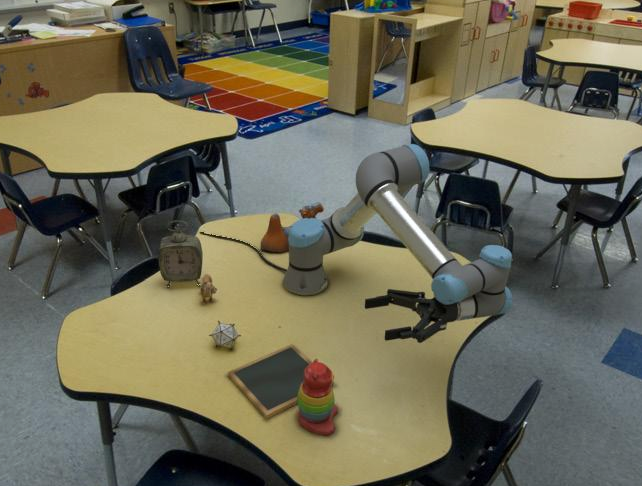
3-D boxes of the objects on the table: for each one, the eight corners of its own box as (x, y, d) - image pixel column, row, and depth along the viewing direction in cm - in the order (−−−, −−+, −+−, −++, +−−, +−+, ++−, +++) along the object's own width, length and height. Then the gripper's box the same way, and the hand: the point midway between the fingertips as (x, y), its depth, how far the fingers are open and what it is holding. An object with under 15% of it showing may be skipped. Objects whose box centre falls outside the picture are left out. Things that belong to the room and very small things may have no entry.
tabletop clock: (162, 291, 203) (153, 227, 190) (164, 277, 211) (156, 214, 198) (204, 289, 204) (198, 225, 191) (205, 275, 211) (199, 213, 198)
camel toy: (260, 254, 223) (258, 213, 214) (261, 237, 235) (260, 198, 226) (325, 254, 223) (327, 213, 214) (323, 237, 234) (324, 197, 225)
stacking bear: (333, 437, 146) (336, 383, 136) (293, 431, 148) (293, 378, 138) (338, 406, 155) (341, 354, 145) (301, 401, 157) (301, 349, 147)
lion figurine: (219, 307, 194) (217, 284, 190) (203, 310, 193) (201, 287, 188) (212, 284, 206) (210, 262, 202) (197, 286, 205) (195, 264, 201)
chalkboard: (228, 375, 166) (228, 371, 165) (291, 347, 176) (291, 343, 175) (266, 419, 151) (266, 414, 150) (333, 385, 161) (333, 381, 161)
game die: (232, 352, 180) (250, 329, 177) (221, 361, 172) (240, 337, 169) (210, 333, 181) (228, 310, 178) (199, 341, 173) (217, 317, 170)
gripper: (474, 348, 143) (393, 362, 139) (428, 292, 163) (356, 303, 160) (479, 324, 139) (396, 337, 135) (432, 270, 159) (358, 280, 156)
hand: (374, 319), depth 147 cm, fingers open, 13 cm apart
